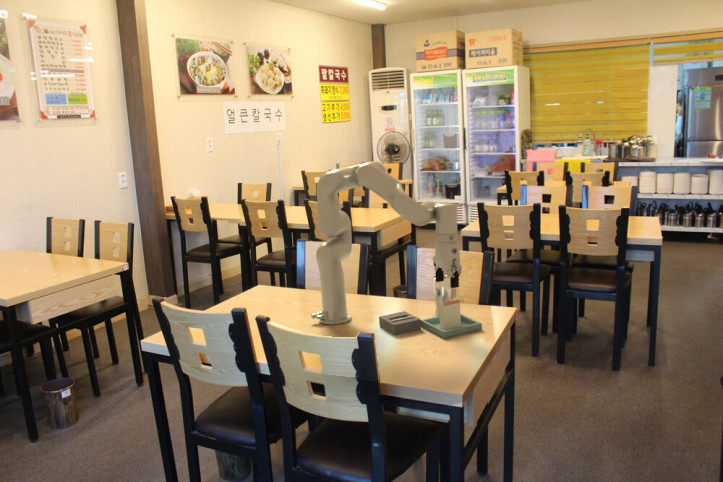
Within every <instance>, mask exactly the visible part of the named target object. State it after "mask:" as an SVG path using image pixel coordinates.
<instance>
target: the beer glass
mask: <svg viewBox="0 0 723 482" xmlns="http://www.w3.org/2000/svg"><path fill="white" fill-rule="evenodd" d="M450 277H451V275H447V274H444V281H441V282H436V275H434V276H433V277H432V290H433V291H432V292H433V296H434V301H435V316H436V317H437V316H440V314H439V301H441V300H446V299H451V293H452V288H451V287H450Z"/></svg>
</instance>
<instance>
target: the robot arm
mask: <svg viewBox="0 0 723 482" xmlns="http://www.w3.org/2000/svg"><path fill="white" fill-rule="evenodd" d="M363 187H365V188H366V189H368V191H371V192H373V193H374V194H376V195H377V196H379V197H380V198H381V199H383V200H384V201H386V203H388V205H389V206H390V207H391V208H392V209H393V211H395V213H397V214H398V216H401V217H402V218H403V219H404V220H406V221H408V222H409V223H411V224H413V225H415V226H418V227H424V226H425V225H428V224H429V223H432V222H435V249H434V250H435V252H434V253H435V254H434V256H433V257H432V261H433V266H434V271H435V276H436V282H441V281H444V275H445V274H444V273H445V271H446V272H447V271H448V272H449V273H450V287H451V289H455V288H459V287H460V277H461V273H462V269H463V266H462V264H461V254H460V253H461V252H460V246H459V242H458V206H457V204H456V203H452V202H435V201H423V202H421V203H419V202H417V201H416V200H414V199H413V198H411V197H410V196H409V195H408V194H407V193H406V192H405V190H404V189H403V186H402V183H401V181H400V180H398V179H397V178H395V177H394V176H392V175H391V174H389V173H387V170H386V167H385V166H384V164H383V163H381V162H379V161H375V160H374V161H372V160H371V161H367V162H364V163H362V164H361V163H360V164H357V165H352V166H351V165H350V166H347V167H346V166H345V167H341V168H335V169H333V170H330V171H328V172H326V173H324V174H323V175H322V176H321V177H320V178H319V179H318V182H317V184H316V200H317V203H316V205H317V230H318V233H319V234H320V236H321V237H323V238H325V239H329V240H327V241H325V242H323V243H321V244H320V245H319V246H318V248H317V249H316V252H315V259H316V263H317V267H318V271H319V272H318V273H319V282H320V283H319V284H320V292H321V295H320V296H321V305H322V308H320V311H318V312H317V313H316V312H315V313H311V315H310V317H311V319H313V320H314V319H317V320H319V322H320V324H323V325H340V324H341V325H342V324H345V323H348V322H350V321H351V320H352V315H351V314H350V313H349V312H348V307H347V293H346V281H345V272H344V269H343V265H342V262H343V261H345V260H347V259H348V258H349V257H350V255H351V253H352V248H353V247H352V244H353V243H352V242H353V240H352V238H353V237H352V222H351V219H350V217H349V215H348V214H347V212H345V211H344V210H340V209H341V208H340V205H341V204H340V198H339V195H338V194H339V193H341V192H345V191H348V190H352V189H357V188H363ZM444 270H445V271H444Z"/></svg>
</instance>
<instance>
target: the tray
mask: <svg viewBox="0 0 723 482" xmlns="http://www.w3.org/2000/svg"><path fill="white" fill-rule="evenodd" d="M460 317H461V326H458V327H454V328H449V329H445V330H444V329H442V328H440V316H437V315H436V316H434V317H429V318H424V319H421V329H424V330H426V331H429V332H430V333H432V334H434V335H436V336H438V337H440V338H442V339H444V340H446V339H449V338H453V337H457V336H462V335H467V334H470V333H475V332H479V331H482V330H483V326H482V325H483V323H482V322H480V321H479V320H475V319H473V318H471V317H468V316H467V315H464V314H462V313H460Z"/></svg>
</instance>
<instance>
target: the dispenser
mask: <svg viewBox="0 0 723 482" xmlns="http://www.w3.org/2000/svg"><path fill="white" fill-rule="evenodd" d="M421 320H422V319H421V318H419V317H417V316H415V315H413V314H412V313H409V312H407V311H406V310H405V311H400V312H399V311H397V312H393V313H390V314H385V315H380V316H378V323H379V328H381V329H382V330H385V331H386V332H388V333H389V334H391V335H393V336H396V337H397V336H399V335H405V334H408V333H412V332H416V331H420V330H421V331H422V327H421Z"/></svg>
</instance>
